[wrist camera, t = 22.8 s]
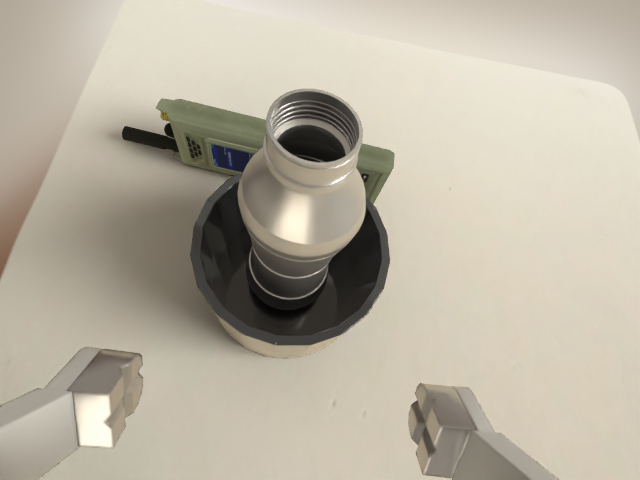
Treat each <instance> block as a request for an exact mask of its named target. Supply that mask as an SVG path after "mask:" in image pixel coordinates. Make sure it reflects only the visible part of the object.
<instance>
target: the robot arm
mask: <svg viewBox="0 0 640 480" xmlns="http://www.w3.org/2000/svg"><path fill="white" fill-rule="evenodd" d="M142 365H143V363H142V355H141V354H140V353H133V352H125V351H117V350H110V349H99V348H91V347H84V348H82V349H80V350H79V351H78V352H77V353H76V354H75V355H74V357H73V358H72V359H71V360H70V361H69V362H68V363H67V364H66V365H65V366H64V367H63V368H62V370H61V371H60V372H59V373H58V374H57V375H56V376H55V377H54V378H53V379H52V380H51V381H50V382H49V384H48V385H47V386H46V387H45V388H44V389H40V388H37V389H35V390H33V391H31V392H29V393H27V394H24V395H22V396H20V397H18V398H16V399H14V400H12V401H9V402H7V403H5V404H3V405H1V406H0V480H37V479H39V478H40V477H41V476H43V475H44V474H45V473H47V472H48V471H49V470H51V469H52V468H53V467H55V466H56V465H57V464H59V463H60V462H61V461H62V460H64V459H65V458H66V457H68V456H69V455H70V454H72V453H73V452H74V451H76V450H77V449H78V446H79V447H97V448H114V446H115V444H116V442H117V441H118V439H119V437H120V435H121V434H122V432H123V430H124V428H125V427H126V425H125V418H126V417H127V416H129V415H131V414H132V413H133V412H134V411H135V409H136V407H137V405H138V403H139V400H140V397H141V394H142V388H143V377H142V376H141V375H140V373H139V370H140V369H141V367H142ZM415 395H416V398H417V401H416V402H414V403H413V404H412V405H411V408H410V411H409V421H408V424H409V431H410V435H411V438H412V440H413V441H414V442H415V443H416V444H417V445H418V448H417V451H416V455H417V458H418V461H419V465H420V468H421V471H422V474H423V475H428V476H437V477H445V478H452V480H559V479H558V478H556V477H555V476H554V475H553V474H551V473H550V472H549V471H548V470H546V469H545V468H544V467H543V466H541V465H540V464H539V463H538V462H536V461H535V460H534V459H532V458H531V457H530V456H529V455H527V454H526V453H525V452H524V451H522V450H521V449H520V448H519V447H517V446H516V445H515V444H514V443H512V442H511V441H510V440H509V439H507V438H506V437H505V436H504V435H502V434H501V433H496V432H495V431H494V429H493V427H492V425H491V424H490V422H489V420H488V418H487V416H486V415H485V413H484V411H483V409H482V408H481V406H480V404H479V402H478V401H477V399H476V397H475V395H474V394H473V392H472V390H471V389H469V388H468V387H456V386H452V387H451V386H442V385H432V384H422V383H420V384H419V385H418V386H417V389H416V392H415Z"/></svg>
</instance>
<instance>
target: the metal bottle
mask: <svg viewBox="0 0 640 480" xmlns="http://www.w3.org/2000/svg"><path fill="white" fill-rule="evenodd" d="M362 137H363V129H362V125H361V121H360V119H359V117H358V115H357V114H356V112H355V111H354V110H353V108H352V107H351V106H350V105H349V104H348V103H347V102H345V101H344V100H342V99H341V98H339V97H337V96H335V95H333V94H331V93H328V92H325V91H322V90H317V89H299V90H294V91H290V92H287V93H286V94H284V95H282V96H280V97H279V98H278V99H277V100H275V101H274V103H273V104H272V105H271V107H270V109H269V111H268V114H267V118H266V134H265V137H264V144H263V148H261V149H260V150H259V151H258V152H257V153H256V154H254V155H253V157H252V158H251V159H250V161H249V162H248V164H247V165H246V168H245V170H244V172H243V174H242V176H241V179H240V181H239V186H238V204H239V208H240V212H241V215H242V218H243V222H244V224H245V226H246V228H247V230H248V232H249V235H250V237H251V241H252V247H251V249H250V252H249V255H248V258H247V263H246V276H247V280H248V283H249V285H250V287H251V289H252V291H253V292H254V293H255V294H256V295H257V297H258V298H259V299H261V300H262V301H263V302H264V303H265V304H267V305H269V306H271V307H273V308H276V309H280V310H295V309H298V308H302V307H305V306H306V305H308V304H310V303H312V302H313V301H314V300H316V299H317V298H318V297H319V295H320V294H321V293H322V291H323V289H324V287H325V285H326V282H327V278H328V264H329V262H330V260H331V259H332V258H333V256H335V255H336V254H337V253H338V252H339V251H340V250H342V249H343V248H344V247H345V246H346V245H347V244H348V243H349V242H350V241H351V240H352V238H353V237H354V236H355V235H356V233H357V232H358V231H359V229H360V227H361V225H362V223H363V220H364V216H365V211H366V195H365V187H364V183H363V180H362V178H361V175H360V173H359V171H358V170H357V168H356V165H357V161H358V153H359V150H360V148H361V144H362Z"/></svg>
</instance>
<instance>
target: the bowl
mask: <svg viewBox="0 0 640 480" xmlns="http://www.w3.org/2000/svg"><path fill="white" fill-rule="evenodd" d="M243 172H244V171H243ZM243 172H241V173H239V174H237V175H236V176H234V177H232V178H230V179H228V180H227V181H226V182H225V183H224V184H223V185H222V186H221V187H220V188H219V189H218V190H217V191H216V192H215V193H214V194H213V195H212V196H211V197H210V198H209V199H208V200H207V201H206V203H205V205H204V207H203V209H202V211H201V213H200V215H199V217H198V219H197V221H196V223H195V225H194V229H193V238H192V246H191V254H190V256H191V261H192V265H193V270H194V274H195V278H196V283H197V286H198V288H199V290H200V291H201V293H202V294H203V296H204V298H205V299H206V301H207V302H208V304H209V305H210V307H211V309H212V310H213V312H214V313H215V315H216V316H217V318H218V319H219V321H220V323H221V324H222V326H223V327H224V329H225V330H226V332H227V333H228V334H229V335H230V336H231V337H233V338H234V339H235V340H236V341H237V342H239V343H240V344H241V345H243V346H244V347H246V348H247V349H249V350H252V351H254V352H256V353H259V354H262V355H265V356H269V357H274V358H295V357H301V356H305V355H308V354H311V353H313V352H316V351H318V350H321V349H323V348H325V347H326V346H327V345H329V344H330V343H332V342H333V341H334V340H336V339H337V338H338V337H340V336H341V335H342V334H344V333H345V332H346V331H347V330H349V329H350V328H351V327H353V326H354V325H355V324H356V323H358V322H359V321H360V320H361V319H363V318H364V317H365V316H366V315H367V314H368V313H369V311H370V310H371V308H372V307H373V305H374V304H375V302H376V300H377V299H378V297H379V296H380V294H381V293H382V291H383V289H384V285H385V281H386V277H387V272H388V268H389V264H390V256H389V247H388V237H387V232H386V230H385V227H384V225H383V223H382V221H381V218H380V216H379V214H378V211H377V209H376V207H375V206H374V205H373V204H372V203H371V201H370V200H369V199H368V198H367V197H366V211H365V216H364V220H363V223H362V225H361V227H360V229H359V231H358V232H357V233H356V235H355V236H354V237H353V238H352V240H351V241H350V242H349V243H348V244H347V245H346V246H345V247H344V248H343V249H342V250H340V251H339V252H338V253H337V254H336V255H335V256H333V258H332V259H331V260H330V262H329V264H328V278H327V282H326V285H325V287H324V289H323V291H322V293H321V294H320V295H319V297H318V298H317V299H316V300H314V301H313V302H312V303H310V304H308V305H306V306H305V307H302V308H298V309H295V310H280V309H276V308H273V307H271V306H269V305H267V304H265V303H264V302H263V301H262V300H261V299H259V298H258V297H257V295H256V294H255V293H254V292H253V291H252V289H251V287H250V285H249V283H248V280H247V276H246V263H247V258H248V255H249V252H250V249H251V247H252V241H251V237H250V235H249V232H248V230H247V228H246V226H245V224H244V222H243V218H242V215H241V212H240V208H239V204H238V186H239V181H240V179H241V176H242V174H243Z"/></svg>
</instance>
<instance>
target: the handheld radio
mask: <svg viewBox="0 0 640 480" xmlns="http://www.w3.org/2000/svg"><path fill="white" fill-rule="evenodd" d="M156 109H158V110H160V111H161V118H162V119H163V120H166V121H170V123H168V124H167V125H166V126H165V128H164V131H165V133H166V135H167V136H169V137H173V138H175V139H173V138H169V137H167V136H164V135H160V134H156V133H152V132H148V131H144V130H140V129H135V128H131V127H127V126H125V127H124V128H123V131H122V137H123V139H124V140H128V141H132V142H136V143H140V144H145V145H149V146H153V147H157V148H162V149H170V150H173V151H174V152H175V154H174V156H173V158H174V159H177V160H180V161H182V162H183V163H184V164H187V165H191V166H196V167H200V168H204V169H208V170H213V171H217V172H221V173H225V174H230V175H234V176H236V175H237V174H239V173H241V172H243V171H244V170H245V168H246V165H247V164H248V162H249V161H250V159H251V158H252V157H253V155H254V154H256V153H257V152H258V151H259V150H260V149H261V148H263V144H264V137H265V134H266V120H264V119H260V118H256V117H252V116H248V115H243V114H239V113H235V112H231V111H227V110H223V109H219V108H215V107H211V106H207V105H203V104H198V103H194V102H190V101H186V100H182V99H177V100H169V99H161V100H160V101H159V103H158V105H157V106H156ZM393 167H394V153H393V152H392V151H390V150H387V149H382V148H378V147H374V146H370V145H366V144H361V148H360V150H359V153H358V161H357V165H356V168H357V170H358V171H359V173H360V175H361V178H362V180H363V183H364V187H365V195H366V197H367V198H368V199H369V200H370V201H371V203H372V204H374V202H375V200H376V198H377V196H378V194H379V193H380V191H381V189H382V187H383V185H384V184H385V182H386V180H387V178H388V176H389V175H390V173H391V171H392V169H393Z"/></svg>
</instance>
